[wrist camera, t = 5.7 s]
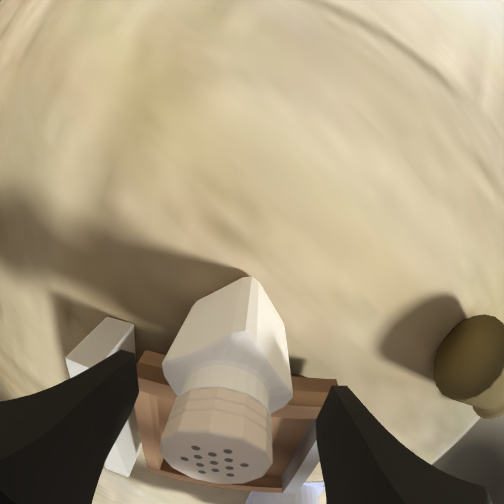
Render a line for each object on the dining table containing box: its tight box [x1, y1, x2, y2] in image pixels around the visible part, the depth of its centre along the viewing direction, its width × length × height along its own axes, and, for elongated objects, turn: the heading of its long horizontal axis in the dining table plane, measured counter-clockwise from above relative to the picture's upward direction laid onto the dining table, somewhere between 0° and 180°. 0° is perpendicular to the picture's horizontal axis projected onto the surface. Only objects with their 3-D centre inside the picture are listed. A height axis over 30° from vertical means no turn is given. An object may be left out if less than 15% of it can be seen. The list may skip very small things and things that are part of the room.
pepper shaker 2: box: [434, 315, 504, 419], centre depth 13 cm, size 6×6×11 cm
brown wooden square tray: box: [134, 350, 338, 494], centre depth 15 cm, size 11×11×4 cm
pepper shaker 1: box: [160, 276, 293, 484], centre depth 10 cm, size 4×4×10 cm
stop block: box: [65, 316, 142, 477], centre depth 15 cm, size 12×2×5 cm, turn 171°
